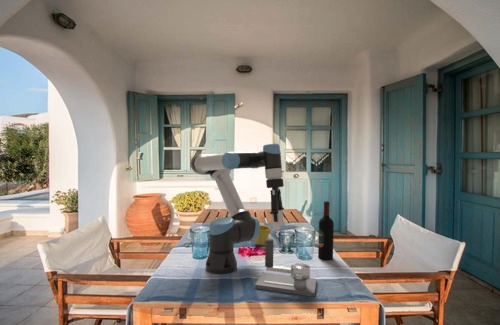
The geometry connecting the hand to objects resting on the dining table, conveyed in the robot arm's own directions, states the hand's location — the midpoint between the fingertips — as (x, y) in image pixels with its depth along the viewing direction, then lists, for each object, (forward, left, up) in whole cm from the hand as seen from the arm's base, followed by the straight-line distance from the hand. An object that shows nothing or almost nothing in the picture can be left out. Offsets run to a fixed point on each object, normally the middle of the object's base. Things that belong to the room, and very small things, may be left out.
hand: (279, 227), depth 129 cm
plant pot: (-19, +46, -24) cm, 55 cm away
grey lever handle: (+5, -7, -18) cm, 20 cm away
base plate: (+4, -4, -23) cm, 24 cm away
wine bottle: (+19, +33, -24) cm, 45 cm away
